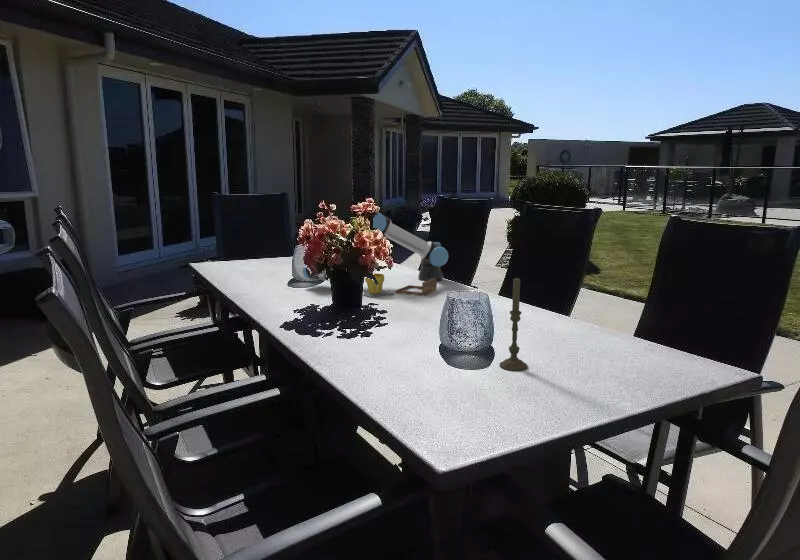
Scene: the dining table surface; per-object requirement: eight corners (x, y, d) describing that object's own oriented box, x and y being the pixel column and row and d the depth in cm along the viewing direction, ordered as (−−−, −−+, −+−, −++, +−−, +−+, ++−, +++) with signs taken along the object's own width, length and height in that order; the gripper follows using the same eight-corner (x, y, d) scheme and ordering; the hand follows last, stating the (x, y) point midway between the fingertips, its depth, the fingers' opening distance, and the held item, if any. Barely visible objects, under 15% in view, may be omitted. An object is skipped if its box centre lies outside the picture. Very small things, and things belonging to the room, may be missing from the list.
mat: (379, 290, 310) (379, 289, 310) (394, 294, 298) (394, 293, 298) (356, 293, 302) (356, 292, 302) (370, 297, 290) (370, 296, 290)
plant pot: (362, 294, 296) (362, 276, 295) (369, 290, 306) (369, 272, 304) (380, 295, 293) (380, 277, 292) (387, 291, 303) (386, 273, 301)
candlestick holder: (528, 363, 186) (531, 275, 181) (527, 372, 178) (531, 280, 172) (500, 361, 189) (503, 274, 183) (498, 369, 180) (501, 278, 175)
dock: (395, 292, 302) (395, 280, 301) (408, 287, 317) (408, 275, 316) (424, 295, 295) (424, 282, 294) (436, 290, 310) (436, 277, 308)
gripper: (340, 276, 323) (372, 279, 314) (315, 283, 301) (348, 287, 292) (340, 264, 322) (372, 266, 312) (315, 270, 300) (348, 273, 290)
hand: (361, 276), depth 302 cm, fingers open, 13 cm apart
